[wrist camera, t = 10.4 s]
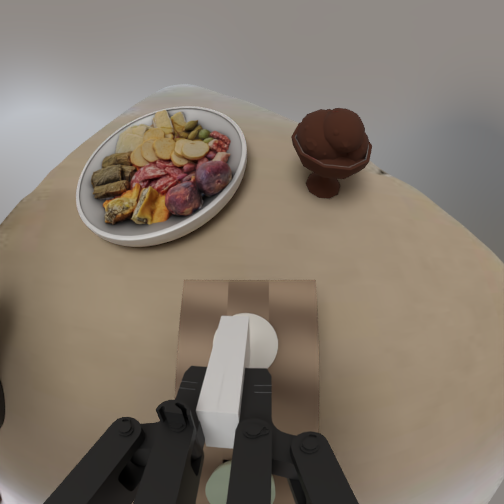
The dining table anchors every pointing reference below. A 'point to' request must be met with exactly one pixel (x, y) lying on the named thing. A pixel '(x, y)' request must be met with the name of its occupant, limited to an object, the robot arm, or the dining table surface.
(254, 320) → the cream button
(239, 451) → the robot arm
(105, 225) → the bowl
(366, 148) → the ice cream bowl
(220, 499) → the sage button
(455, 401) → the dining table surface
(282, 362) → the console
